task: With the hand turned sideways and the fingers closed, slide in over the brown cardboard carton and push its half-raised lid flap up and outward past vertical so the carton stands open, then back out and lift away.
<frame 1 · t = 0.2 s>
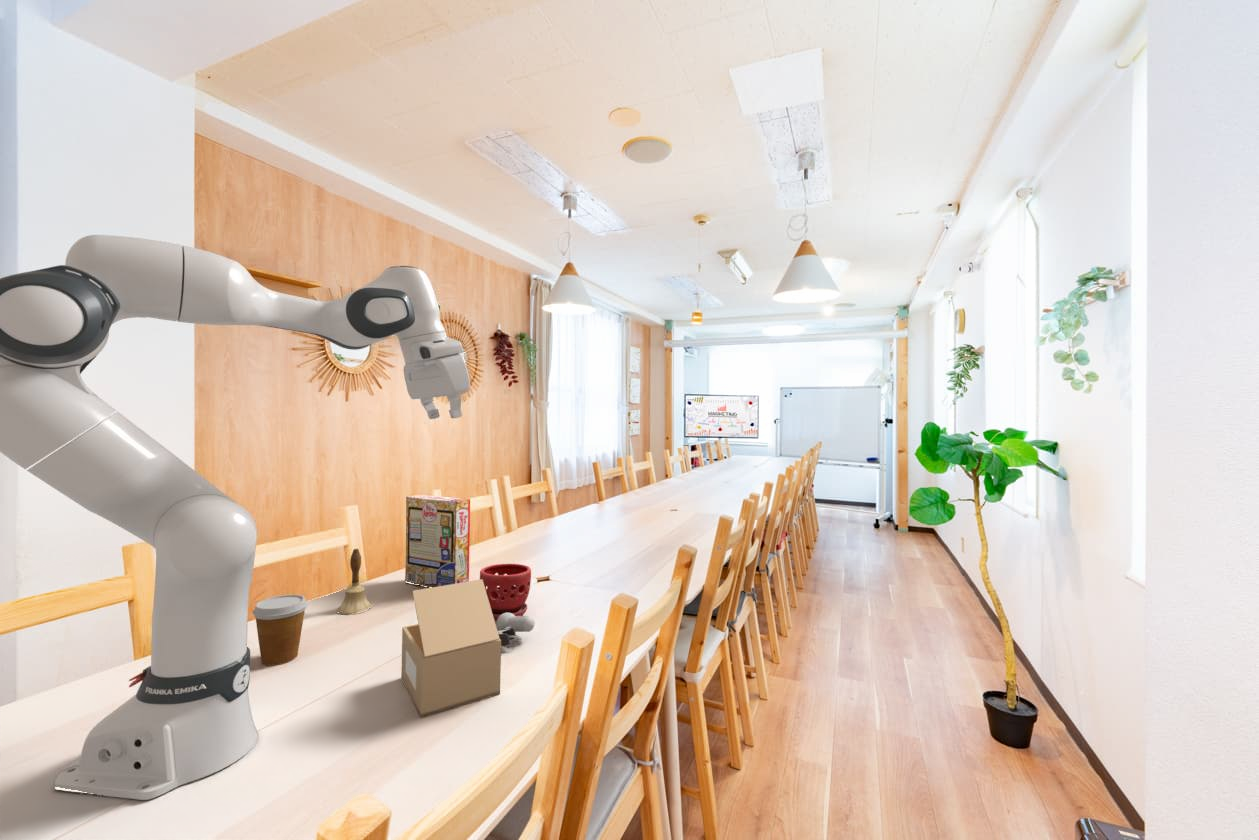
hand: (445, 418, 103), 51 cm above the table, tool tilted 15°, fingers open, 8 cm apart
plant pot: (504, 614, 133), on the table
board game box: (436, 586, 154), on the table
carton flap: (455, 615, 94), point 15 cm above the table, hinge at 40.0°
disposable coffee cup: (279, 659, 106), on the table
carton: (449, 685, 97), on the table
masking tape: (458, 603, 141), on the table
clip-on lamp: (494, 640, 118), on the table
hand bell: (354, 609, 135), on the table
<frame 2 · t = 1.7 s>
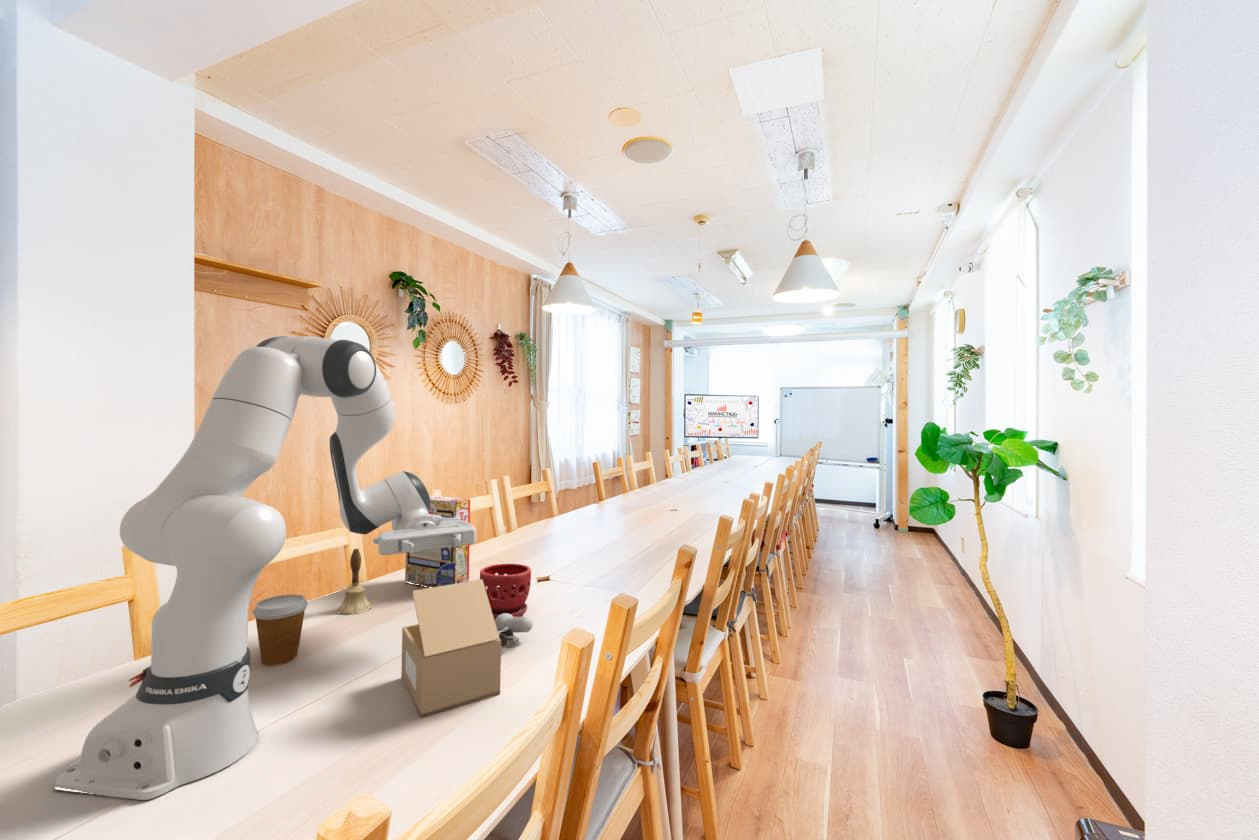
hand: (437, 546, 106), 24 cm above the table, tool horizontal, fingers open, 7 cm apart
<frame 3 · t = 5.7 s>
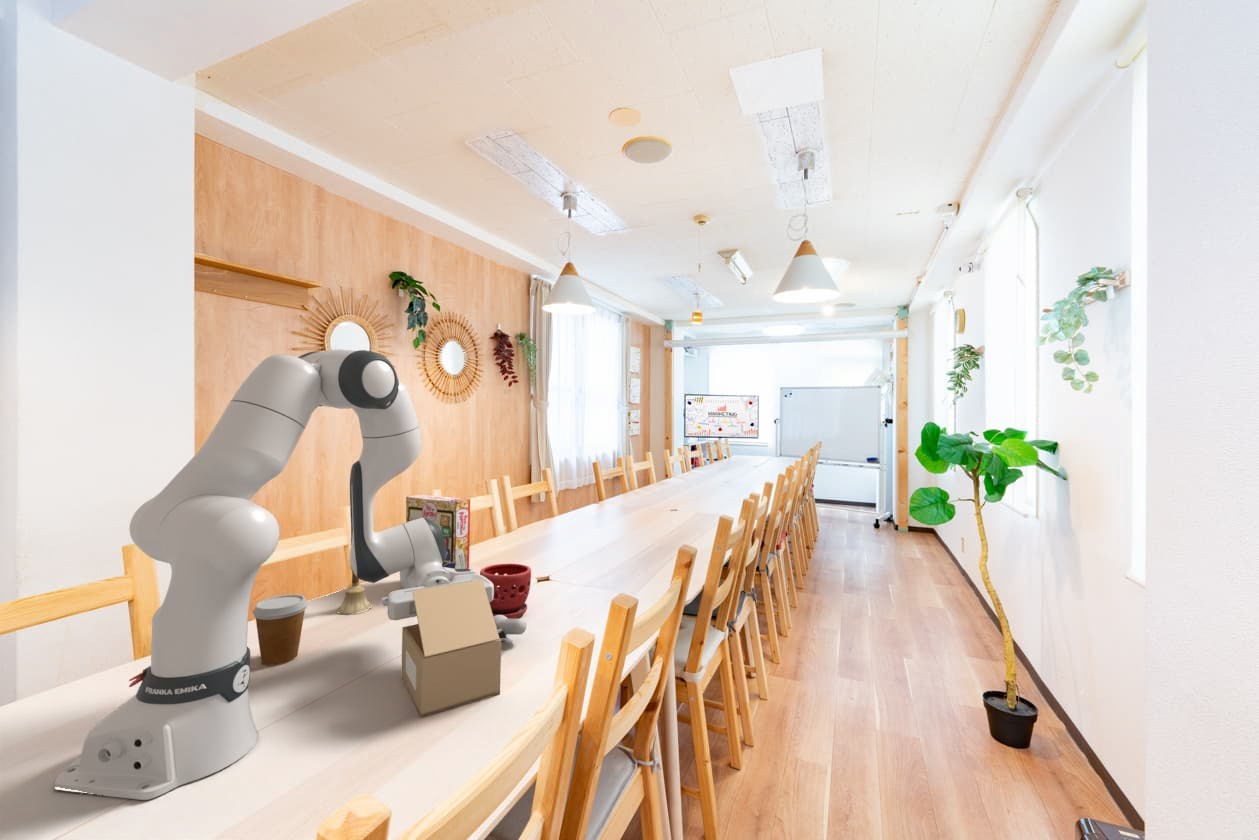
hand: (452, 609, 96), 15 cm above the table, tool horizontal, fingers closed, pressing on carton flap
carton flap: (455, 615, 94), point 15 cm above the table, hinge at 40.0°, touching gripper
clip-on lamp: (485, 642, 117), on the table
everything else where it was.
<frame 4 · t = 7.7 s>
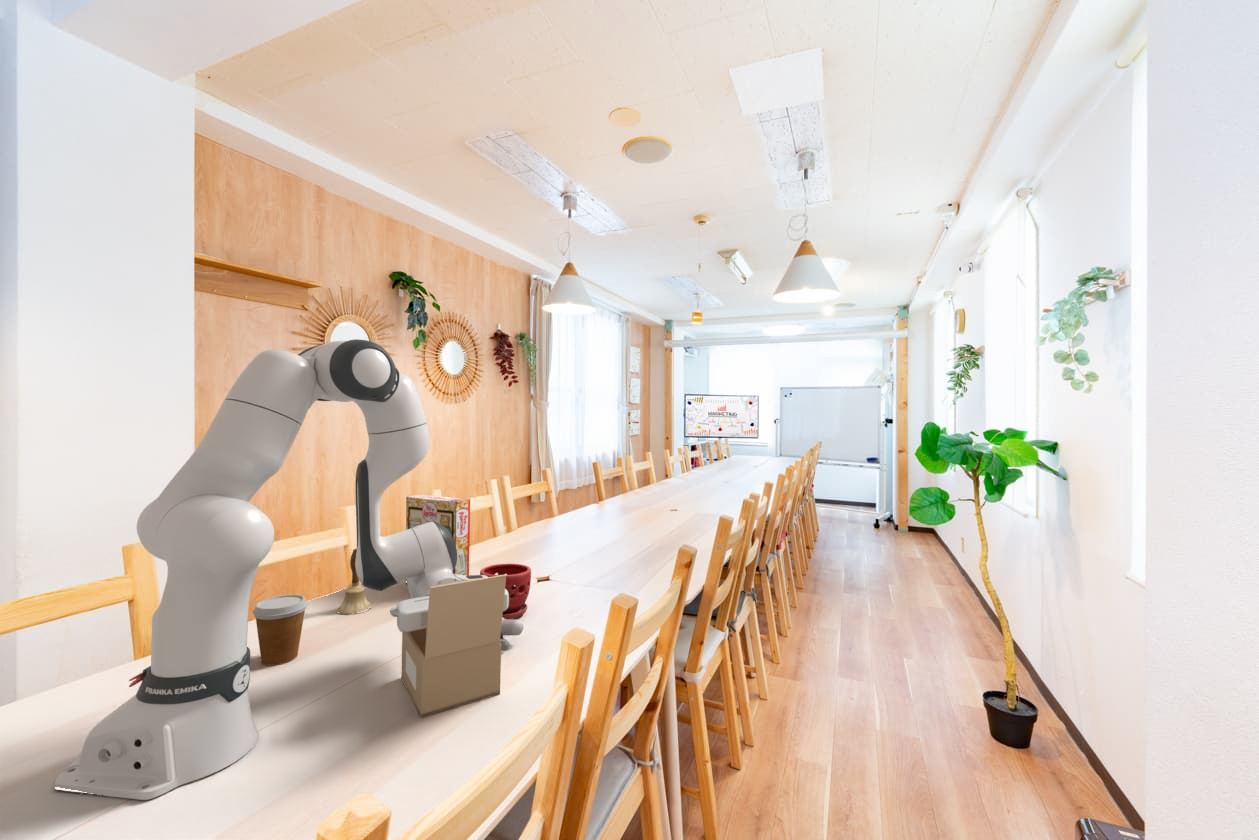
hand: (467, 620, 90), 15 cm above the table, tool horizontal, fingers closed, pressing on carton flap
carton flap: (466, 615, 89), point 17 cm above the table, hinge at 100.8°, touching gripper
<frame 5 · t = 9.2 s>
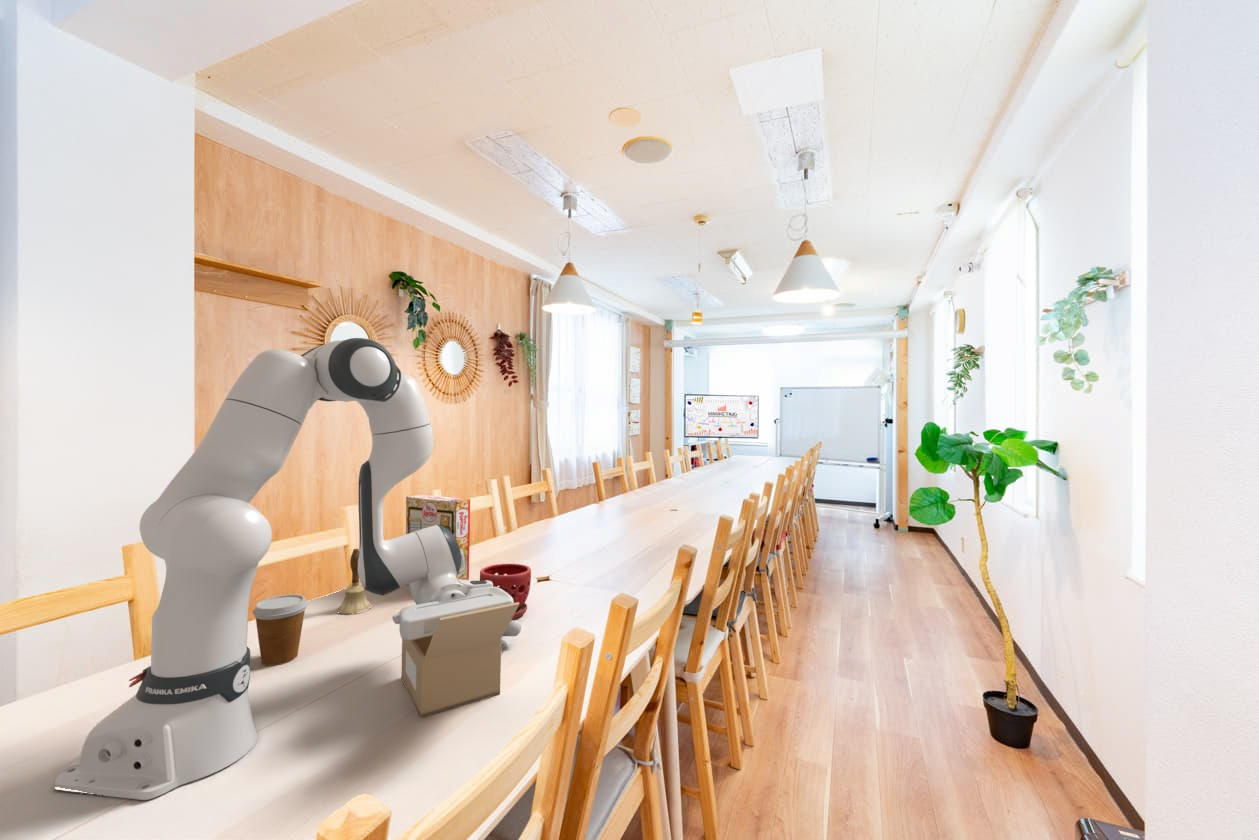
hand: (471, 628, 88), 15 cm above the table, tool horizontal, fingers closed, pressing on carton flap
carton flap: (472, 630, 87), point 15 cm above the table, hinge at 132.1°, touching gripper
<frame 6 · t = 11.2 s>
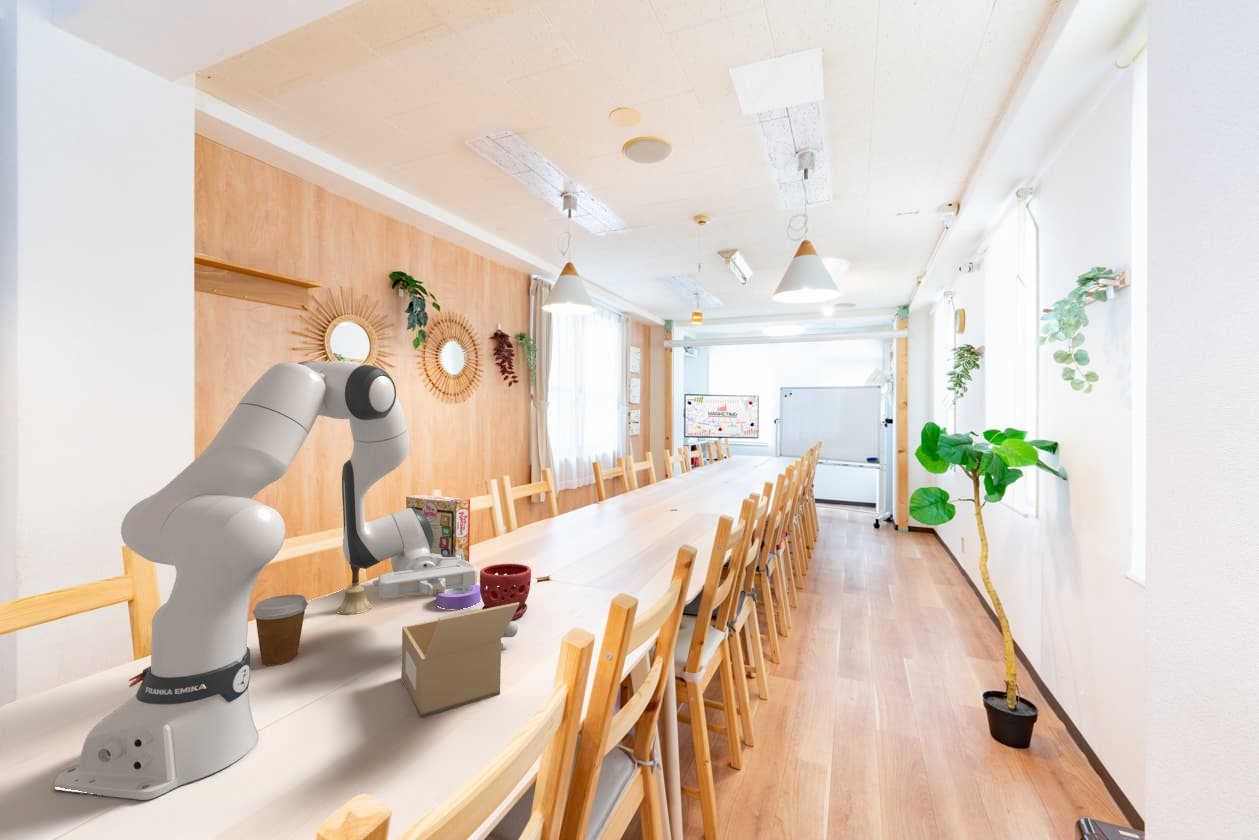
hand: (437, 590, 104), 16 cm above the table, tool horizontal, fingers closed
carton flap: (472, 630, 87), point 15 cm above the table, hinge at 132.2°
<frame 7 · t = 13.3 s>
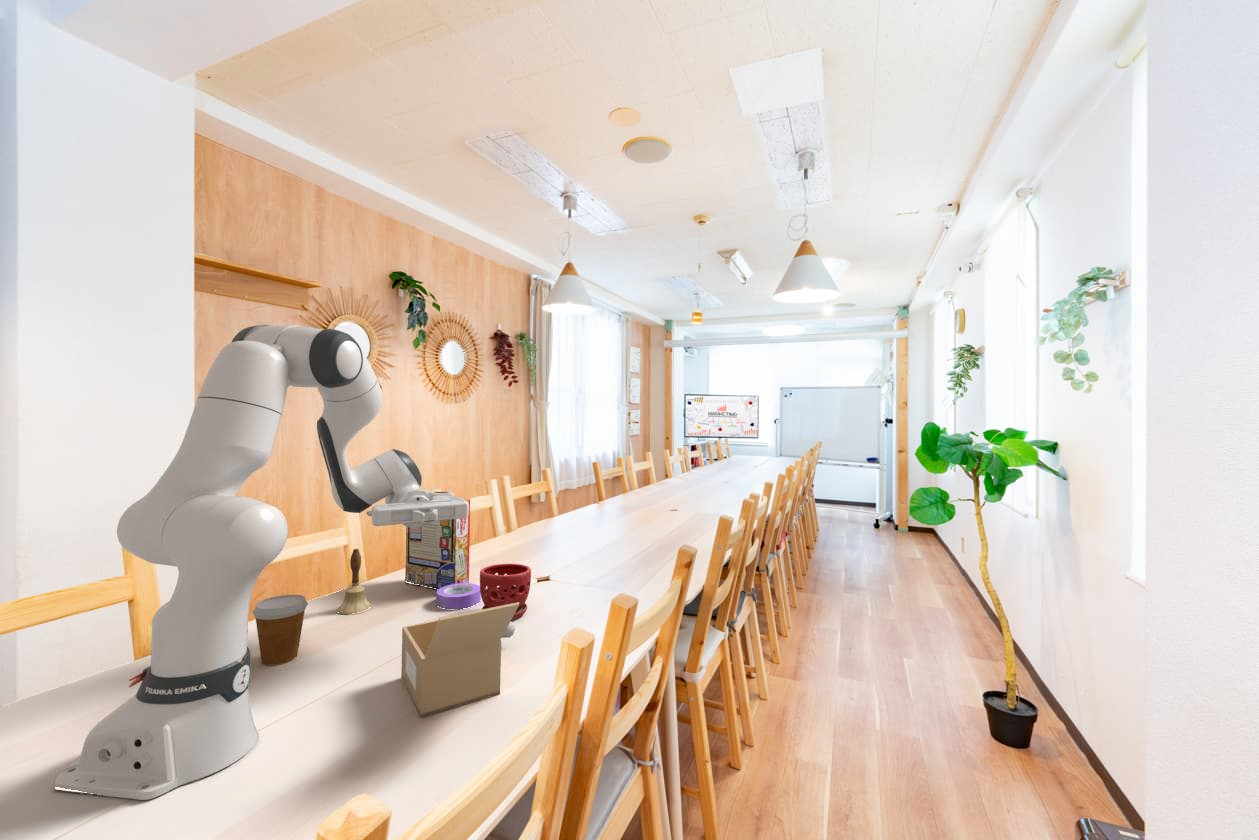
hand: (429, 517, 107), 30 cm above the table, tool horizontal, fingers closed
clip-on lamp: (473, 646, 115), on the table, touching carton
everything else where it was.
at the end: carton flap at +132° (first picture: +40°) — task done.
